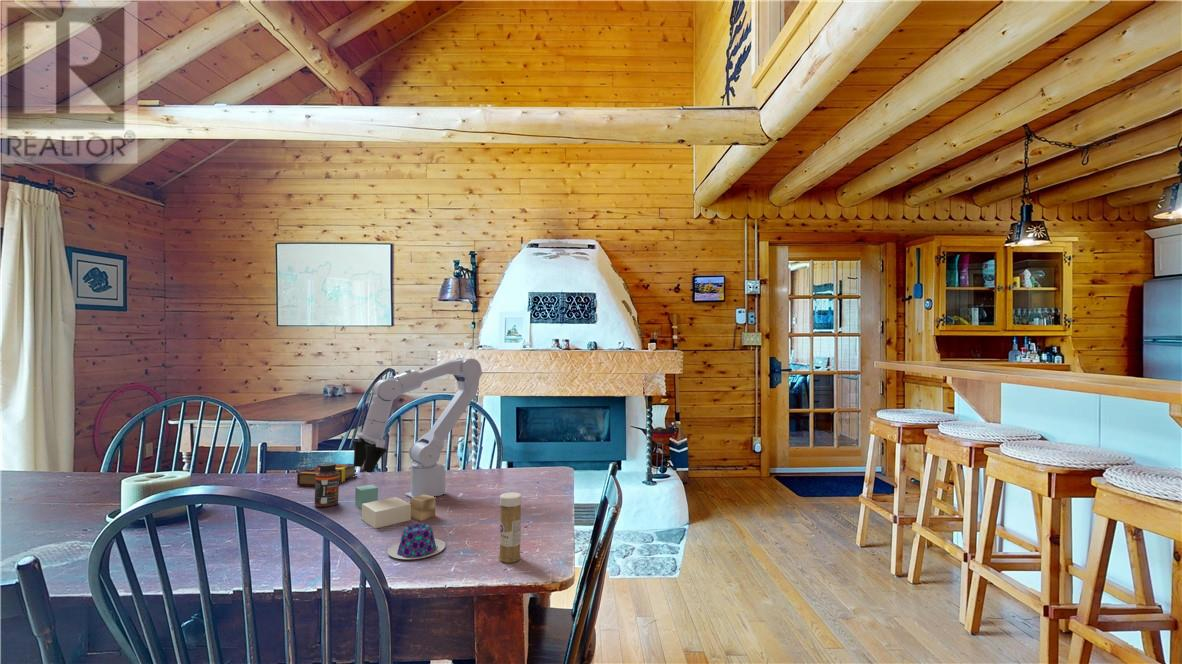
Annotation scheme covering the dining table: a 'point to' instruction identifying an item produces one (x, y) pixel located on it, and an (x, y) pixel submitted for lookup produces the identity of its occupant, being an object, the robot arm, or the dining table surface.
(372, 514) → the base slab
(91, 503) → the dining table surface
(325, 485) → the supplement bottle
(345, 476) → the decorative book
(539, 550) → the dining table surface
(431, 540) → the purple patterned hat
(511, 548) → the sprinkles bottle
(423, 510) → the oak block
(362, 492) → the teal block
